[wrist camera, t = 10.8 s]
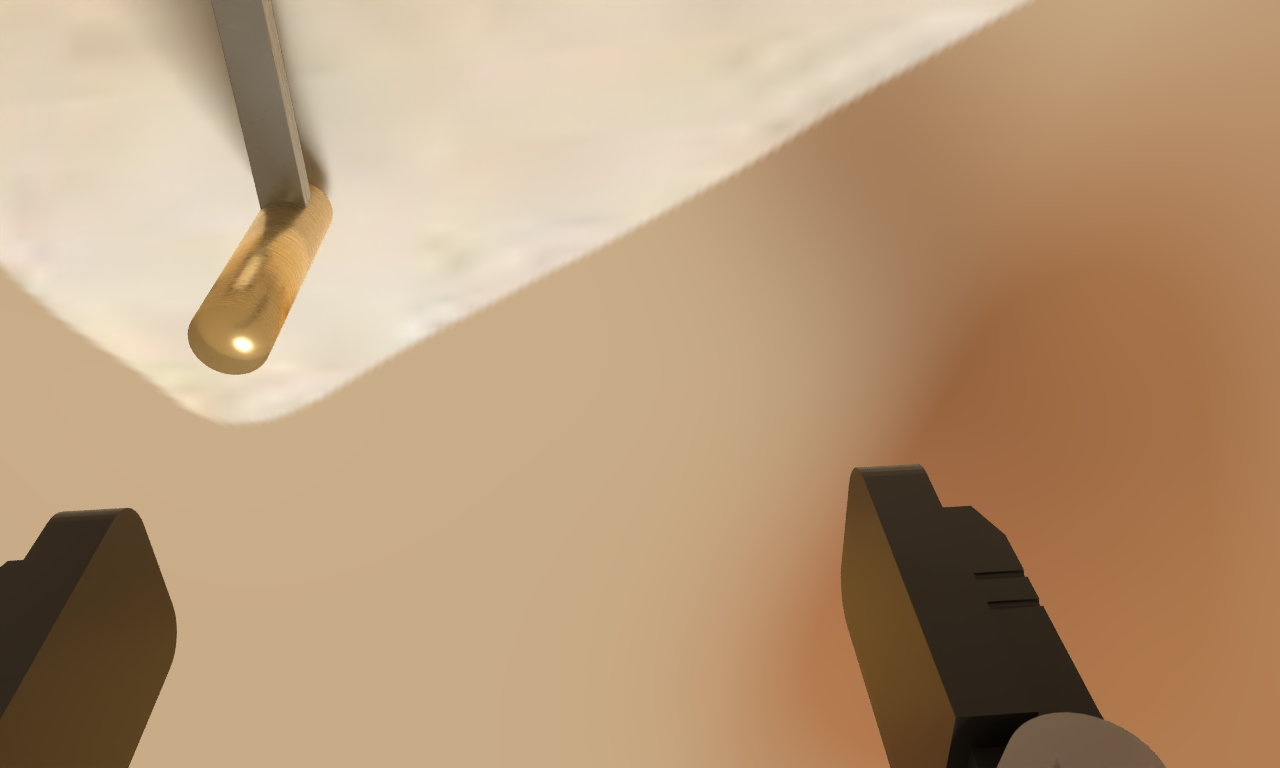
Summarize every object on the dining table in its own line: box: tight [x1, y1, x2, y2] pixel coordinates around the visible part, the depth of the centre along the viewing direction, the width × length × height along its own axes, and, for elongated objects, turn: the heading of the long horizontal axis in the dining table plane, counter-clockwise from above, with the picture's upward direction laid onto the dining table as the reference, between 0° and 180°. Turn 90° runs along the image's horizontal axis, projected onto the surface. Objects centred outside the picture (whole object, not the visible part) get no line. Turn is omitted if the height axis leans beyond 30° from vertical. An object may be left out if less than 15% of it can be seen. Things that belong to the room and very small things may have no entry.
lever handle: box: [188, 0, 332, 375], centre depth 32 cm, size 9×19×10 cm, turn 2°
